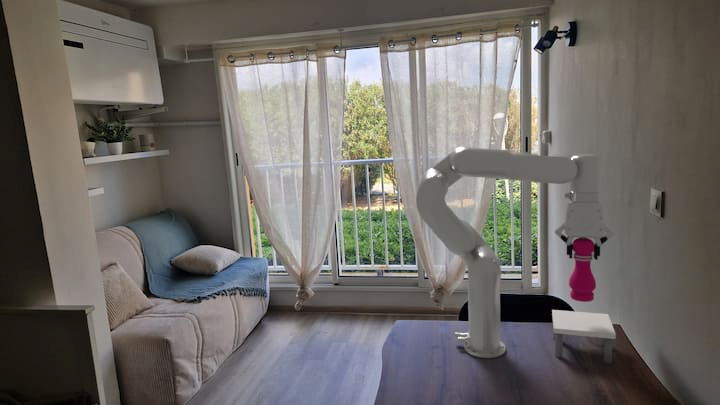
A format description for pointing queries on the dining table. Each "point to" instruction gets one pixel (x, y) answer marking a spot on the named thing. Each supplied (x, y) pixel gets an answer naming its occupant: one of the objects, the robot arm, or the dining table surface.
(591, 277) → the pepper mill
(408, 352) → the dining table surface
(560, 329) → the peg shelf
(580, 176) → the robot arm
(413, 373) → the dining table surface
